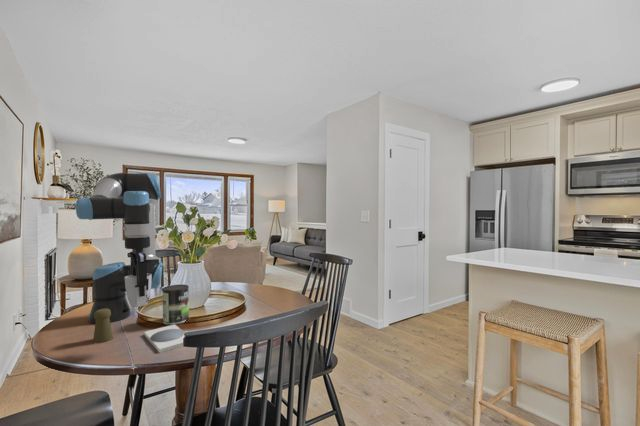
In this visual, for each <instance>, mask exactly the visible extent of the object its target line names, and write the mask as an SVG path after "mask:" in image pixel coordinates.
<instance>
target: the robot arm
mask: <svg viewBox="0 0 640 426" xmlns="http://www.w3.org/2000/svg"><path fill="white" fill-rule="evenodd" d="M161 193H162V192H161V186H160V181H159V177H158V175H156V174H155V173H154V174H153V173H147V172H146V173H138V172H137V173H134V172H133V173H132V172H118V173H116V172H115V173H113V174H109V175H107V176H105V177H102V178H101V179H99V180H98V181H97V183H96V185H95V190H94V191H93V193H92V195H90V197H79V198H78V199H77V200H76V202H75V213H76V217H77V218H78V219H79V220H89V221H93V220H116V219H117V220H118V219H119V220H121V219H124V222H123V224H124V227H122V230H123V231H124V236H125V238H124V248H125V249H126V250H131V251H130V252H129V255H130V256H129V257H130V264H128V265H126V263H125V262H124V261H122V262H118V261H117V262H112V263H107V264H103V265H100V266H98V267H95V268H94V270H93V272H92V273H93V274H92V283H93V284H92V285H93V287H92V288H93V289H92V290H93V303H92V307H91V309H90V312H89V315H88V321H89V323H92V324H95V323H96V319H95V318H94V313H95V311H97V310H99V309H110V311H111V316H110V317H109V318H110V323H113V322H117V321H118V322H119V321H121V320H123V319H127V318H128V317H129V316H130V315H131V306H130V304H129V303H128V302H129V301H128V299H127V298H126V296H127V295H126V288H125V278H124V277H125V276H128V275H133V276H136V278H137V285H135V287H136V294H137V307H136V308H139V307H138V306H140V307H144V306H147V305H146V285H147V284H148V282H147V273H149V274H152V279H151V290H154V289H158V288H159V287H160V285H161V282H162V273H163V262H162V261H160V258H159V257H158V256H157V255H156V254H157V253H156V222H155V221H156V218H155V217H156V216H155V207H156V206H155V205H156V204H157V203H158V202H159V200H160V199H161V198H162V194H161Z"/></svg>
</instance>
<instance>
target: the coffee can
mask: <svg viewBox="0 0 640 426" xmlns="http://www.w3.org/2000/svg"><path fill="white" fill-rule="evenodd" d="M161 291H162V292H161V293H162V295H161V296H162V324H164V325H166V326H170V325H174V324H175V325H179V324H184V323H185V321H186V319H187V318H188V317H189V318H190V303H189V301H190V300H189V297H190V295H189V285H188V284H172V285H167V286H164V287H162V288H161ZM186 322H187V321H186Z"/></svg>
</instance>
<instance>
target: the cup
mask: <svg viewBox="0 0 640 426" xmlns="http://www.w3.org/2000/svg"><path fill="white" fill-rule="evenodd" d="M124 278H125V288H126V292H125V294H126V296H127V298H126V299H127V302H129V303H128V304H129V307H130V308H140V307H141V306H138V307H137V294H136V287H135V285H137V278H136V276H133V275H128V276H125V277H124ZM151 279H152V274H149V273H147V282H148V284H147V285H146V305H145V306H147V305H148V303H149V301H150V297H151V290H152V289H151Z"/></svg>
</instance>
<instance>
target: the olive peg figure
mask: <svg viewBox="0 0 640 426" xmlns="http://www.w3.org/2000/svg"><path fill="white" fill-rule="evenodd" d="M110 316H111V311H110V309H99V310H97V311H95V313H94V318H95V319H96V323H94V324H95V325H94V332H93V340H92V342H93V343H95V344H102V343H106V342H109V341H111V340H113V339H114V335H113V331H112V325H111V322H110V318H109V317H110Z"/></svg>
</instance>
